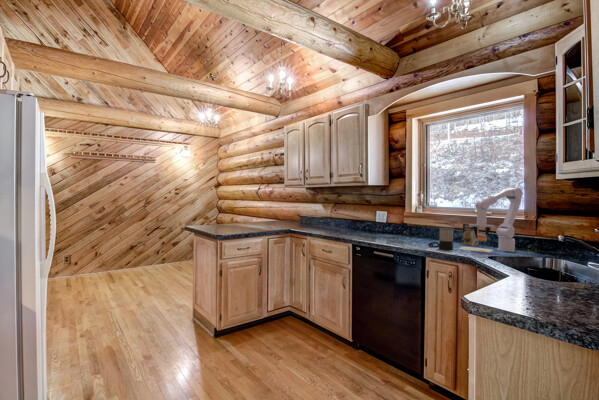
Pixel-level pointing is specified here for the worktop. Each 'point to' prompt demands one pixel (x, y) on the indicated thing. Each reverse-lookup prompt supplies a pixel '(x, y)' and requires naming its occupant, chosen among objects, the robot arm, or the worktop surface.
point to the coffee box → (469, 235)
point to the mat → (476, 249)
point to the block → (481, 237)
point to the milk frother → (444, 239)
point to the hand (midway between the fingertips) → (481, 238)
